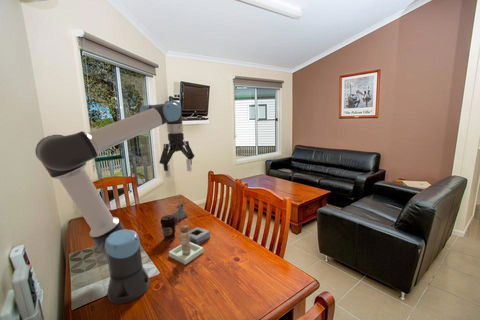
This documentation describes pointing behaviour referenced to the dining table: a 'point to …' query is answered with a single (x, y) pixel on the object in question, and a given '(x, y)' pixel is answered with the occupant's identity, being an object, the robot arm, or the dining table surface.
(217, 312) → the dining table surface
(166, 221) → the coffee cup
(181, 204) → the figurine
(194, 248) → the tray
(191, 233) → the socket block
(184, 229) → the pin
